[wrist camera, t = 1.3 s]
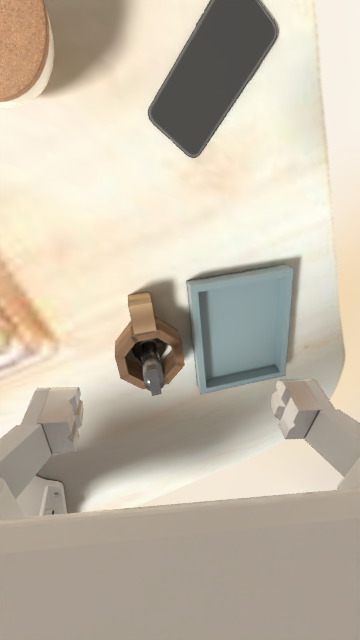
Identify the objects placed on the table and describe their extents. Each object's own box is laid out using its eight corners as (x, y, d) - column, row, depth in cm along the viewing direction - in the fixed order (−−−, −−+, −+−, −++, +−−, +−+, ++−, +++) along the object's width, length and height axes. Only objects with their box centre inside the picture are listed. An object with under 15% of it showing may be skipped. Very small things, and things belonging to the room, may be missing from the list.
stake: (166, 356, 45) (176, 396, 36) (135, 362, 44) (138, 404, 36) (162, 329, 42) (172, 365, 34) (129, 335, 42) (131, 373, 33)
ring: (181, 364, 46) (186, 379, 42) (124, 376, 45) (124, 393, 41) (171, 288, 40) (176, 298, 36) (104, 299, 39) (103, 311, 35)
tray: (278, 367, 50) (285, 375, 48) (197, 384, 48) (200, 394, 46) (284, 264, 41) (293, 268, 39) (186, 280, 40) (190, 286, 37)
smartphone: (143, 114, 30) (232, -39, 26) (143, 116, 31) (229, -32, 27) (195, 162, 33) (282, 31, 29) (194, 162, 34) (278, 35, 30)
